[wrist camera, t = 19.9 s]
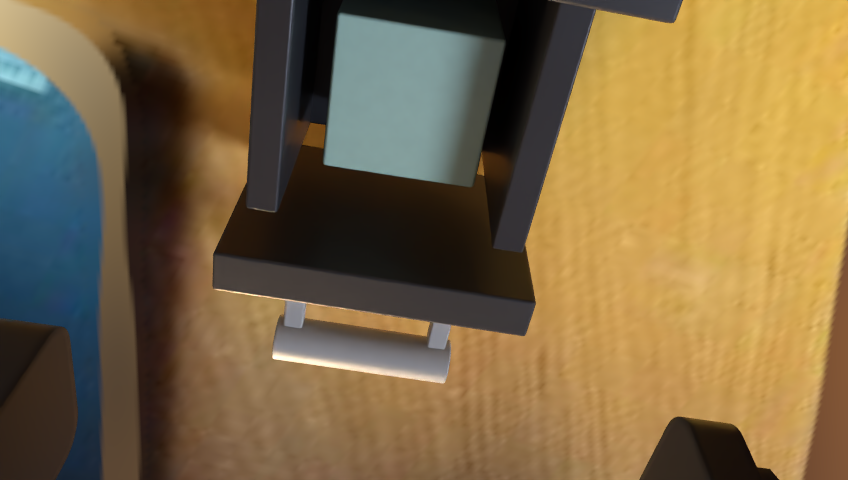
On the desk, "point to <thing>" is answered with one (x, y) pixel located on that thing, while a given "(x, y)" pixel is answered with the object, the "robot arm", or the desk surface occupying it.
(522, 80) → the drawer
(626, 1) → the dark box
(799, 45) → the desk surface
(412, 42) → the block
